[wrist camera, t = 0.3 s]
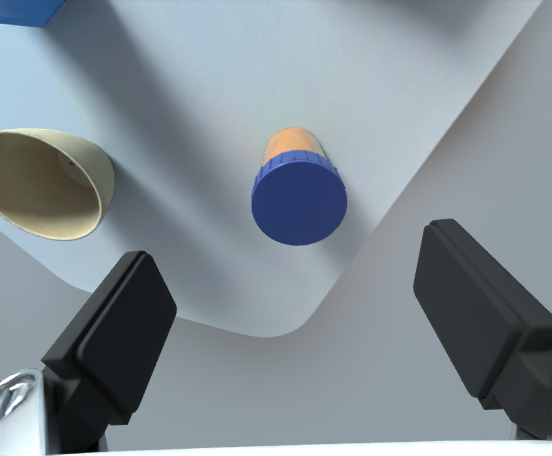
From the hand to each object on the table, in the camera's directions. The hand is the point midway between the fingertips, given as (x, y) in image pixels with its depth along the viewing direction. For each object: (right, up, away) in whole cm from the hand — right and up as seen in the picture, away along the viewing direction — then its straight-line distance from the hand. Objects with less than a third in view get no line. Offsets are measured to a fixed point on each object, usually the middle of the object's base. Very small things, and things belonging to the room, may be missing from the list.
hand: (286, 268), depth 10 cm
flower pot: (-20, +8, +19) cm, 29 cm away
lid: (+1, +3, +10) cm, 10 cm away
